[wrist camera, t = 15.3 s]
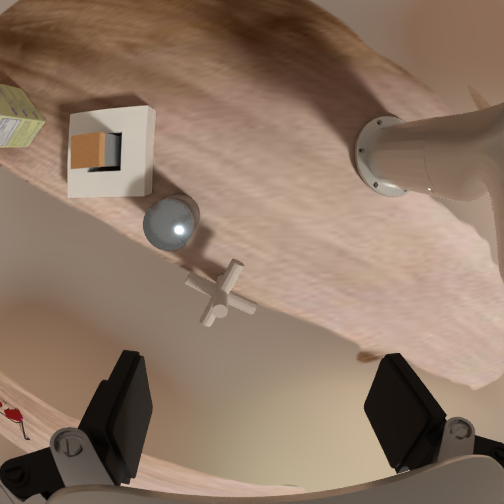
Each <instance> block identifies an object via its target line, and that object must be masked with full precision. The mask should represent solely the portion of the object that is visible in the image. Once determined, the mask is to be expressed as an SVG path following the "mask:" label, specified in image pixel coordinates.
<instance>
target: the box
mask: <svg viewBox="0 0 504 504" xmlns="http://www.w3.org/2000/svg"><path fill="white" fill-rule="evenodd" d="M45 122H46V121H45V119H44V118H43V117H42V116H41V114H40V113H39V112H38V110H37V109H36V108H35V106H34V105H33V104H32V102H31V101H30V100H29V98H28V97H27V95H26V94H25V93H24V91H23V90H22V89H20V88H16V87H12V86H8V85H4V84H0V147H29V145H30V144H31V142H32V141H33V139H34V138H35V136H36V135H37V134H38V132H39V131H40V129H41V128H42V126H43V125H44V124H45Z"/></svg>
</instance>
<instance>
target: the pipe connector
mask: <svg viewBox="0 0 504 504" xmlns="http://www.w3.org/2000/svg"><path fill="white" fill-rule="evenodd" d="M243 267H244V264H243V263H242V262H240V261H238V260H236V259H232V260H231V262H230V264H229V266H228V268H227V269H226V271H225V273H224V274H221V275H219V276H218V277H217V279H216V284H215V283H213V282H211V281H209V280H207V279H205V278H203V277H200V276H198V275H196V274H194V273H192V272H190V273H189V275H188V277H187V280H186V282H185V284H186V285H188V286H190V287H192V288H194V289H196V290H198V291H201V292H203V293H205V294H207V295H209V296H211V297H212V298H211V299H210V302H209V303H208V305H207V307H206V309H205V311H204V313H203V315H202V317H201V318H200V322H201V323H202V324H203V325H204V326H207V327H210V326H211V325H212V323H213V321H214V320H215V318H216V317H218V318H223V317H225V316H226V315H227V313H228V304H229V305H231V306H233V307H235V308H237V309H240V310H242V311H244V312H246V313H249V314H251V315H252V314H253V313H254V312H255V310H256V308H257V303H256V302H254V301H252V300H250V299H247V298H245V297H243V296H241V295H239V294H237V293H234V292H232V291H231V289H232V287H233V285H234V283H235V282H236V280H237V278H238V276H239V274H240V273H241V271H242V269H243Z"/></svg>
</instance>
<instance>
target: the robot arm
mask: <svg viewBox="0 0 504 504" xmlns="http://www.w3.org/2000/svg"><path fill="white" fill-rule="evenodd" d="M377 122H378V124H377ZM359 149H360V150H361V152H359ZM355 162H356V166H357V169H358V172H359V174H360V176H361V178H362V179H363V181H364V182H365V183H366V184H367V186H368V187H369V188H371V189H372V190H373V191H375V192H376V193H379V194H381V195H384V196H389V197H399V196H402V195H405V194H407V193H408V192H410V191H414V192H419V193H423V194H428V195H432V196H437V197H441V198H445V199H450V200H454V201H460V202H470V201H473V200H477V199H479V198H480V197H482V196H483V195H485V194H486V193H487V192H488V191H489V193H490V198H491V203H492V209H493V213H494V221H495V230H496V241H497V252H498V264H499V271H500V275H501V278H502V280H503V282H504V103H500V104H498V105H495V106H491V107H488V108H485V109H481V110H478V111H474V112H468V113H463V114H456V115H449V116H443V117H435V118H429V119H423V120H417V121H411V122H405V121H403V120H402V119H399V118H396V117H392V116H382V117H378V118H375V119H373V120H371V121H369V122H368V123H367V124H366V125H365V126H364V127H363V128H362V129H361V131H360V133H359V135H358V137H357V140H356V143H355ZM373 183H374V186H373ZM152 408H153V407H152V400H151V395H150V389H149V384H148V378H147V373H146V367H145V360H144V357H143V356H140V355H139V352H137V351H129V350H124V351H123V352H122V354H121V356H120V358H119V360H118V362H117V363H116V366H115V367H114V369H113V371H112V373H111V375H110V377H109V379H108V380H103V381H101V383H100V384H99V386H98V388H97V390H96V392H95V394H94V396H93V398H92V400H91V402H90V404H89V406H88V408H87V410H86V412H85V414H84V416H83V418H82V420H81V422H80V424H79V426H78V429H77V428H72V427H67V428H62V429H60V430H58V431H56V432H55V433H54V434H53V435H52V437H51V439H50V447H48V448H45V449H42V450H39V451H36V452H32V453H29V454H26V455H23V456H20V457H16V458H13V459H10V460H8V461H6V462H5V463H4V464H2V466H1V468H0V504H504V444H503V443H501V442H497V441H494V440H490V439H487V438H483V437H480V436H476V435H475V429H474V427H473V425H472V424H471V422H469V421H468V420H467V419H464V418H462V417H453V418H451V419H449V420H448V421H447V420H446V419H445V417H446V413H445V412H444V411H443V409H442V408H441V406H440V405H439V404H438V402H437V401H436V400H435V399H434V397H433V396H432V394H431V393H430V392H429V390H428V389H427V388H426V386H425V385H424V384H423V382H422V381H421V380H420V378H419V377H418V376H417V374H416V373H415V372H414V370H413V369H412V368H411V367H410V365H409V364H408V363H407V361H406V360H405V359H404V358H403V356H402V355H401V354H400V353H393V354H387V355H385V357H384V358H382V359H381V361H380V364H379V367H378V370H377V373H376V375H375V378H374V381H373V383H372V386H371V389H370V391H369V394H368V396H367V399H366V401H365V404H364V411H365V413H366V415H367V417H368V419H369V421H370V423H371V426H372V428H373V430H374V432H375V434H376V436H377V438H378V440H379V442H380V445H381V447H382V449H383V451H384V453H385V455H386V457H387V460H388V462H389V464H390V466H391V467H392V468H395V471H396V473H397V474H398V473H401V474H398V475H394V476H391V477H388V478H384V479H380V480H376V481H372V482H368V483H364V484H359V485H354V486H350V487H344V488H339V489H333V490H327V491H320V492H312V493H304V494H295V495H283V496H267V497H213V496H197V495H185V494H175V493H166V492H159V491H152V490H145V489H137V488H131V487H124V486H120V485H121V483H124V484H129V483H130V479H131V478H135V477H136V473H137V469H138V465H139V461H140V457H141V453H142V449H143V445H144V441H145V437H146V433H147V430H148V426H149V422H150V418H151V415H152ZM408 470H410V471H408ZM405 471H408V472H405ZM402 472H405V473H402Z"/></svg>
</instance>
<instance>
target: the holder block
mask: <svg viewBox="0 0 504 504" xmlns="http://www.w3.org/2000/svg"><path fill="white" fill-rule="evenodd" d="M155 115H156V110H154V109H153V108H151V107H150V106H133V107H122V108H112V109H103V110H95V111H88V112H81V113H75V114H70V125H69V140H68V198H78V197H120V196H147V195H149V194H152V175H153V147H154V130H155ZM94 132H103V133H108V134H113V135H117V136H118V135H122V146H121V170H119V171H99V167H95V168H81V169H71V136H74V135H80V134H87V133H94Z"/></svg>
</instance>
